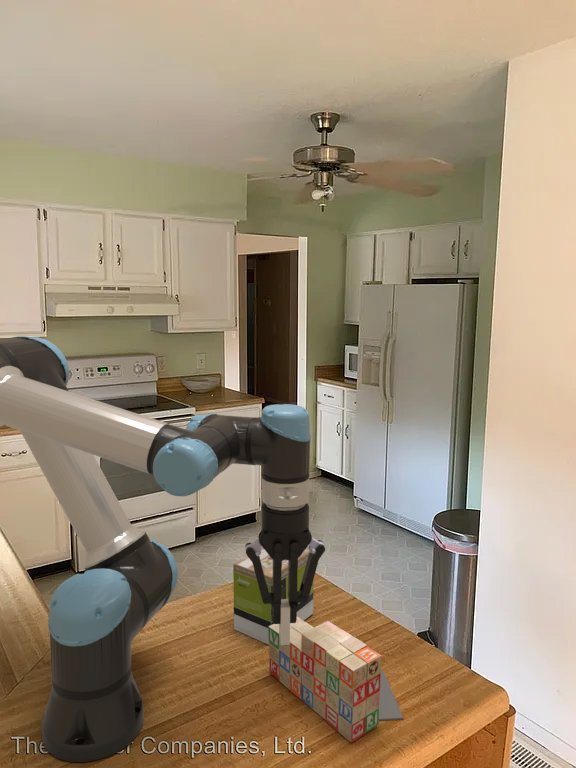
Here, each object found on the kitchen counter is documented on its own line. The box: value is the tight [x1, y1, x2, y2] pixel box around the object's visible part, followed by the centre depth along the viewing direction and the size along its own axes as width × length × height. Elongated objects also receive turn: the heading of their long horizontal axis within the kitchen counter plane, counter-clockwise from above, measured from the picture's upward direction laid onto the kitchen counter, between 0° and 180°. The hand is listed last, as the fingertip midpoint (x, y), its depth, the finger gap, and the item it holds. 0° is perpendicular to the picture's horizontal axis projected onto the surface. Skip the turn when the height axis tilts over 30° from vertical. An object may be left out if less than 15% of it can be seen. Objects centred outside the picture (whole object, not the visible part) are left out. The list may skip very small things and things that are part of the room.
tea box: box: [232, 546, 315, 646], centre depth 123 cm, size 15×10×15 cm, turn 144°
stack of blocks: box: [268, 617, 382, 743], centre depth 100 cm, size 21×6×12 cm, turn 38°
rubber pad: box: [379, 670, 404, 722], centre depth 102 cm, size 7×12×1 cm, turn 7°
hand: (284, 640), depth 99 cm, fingers closed
